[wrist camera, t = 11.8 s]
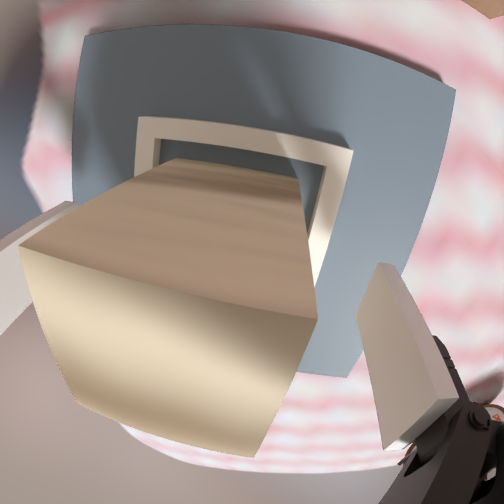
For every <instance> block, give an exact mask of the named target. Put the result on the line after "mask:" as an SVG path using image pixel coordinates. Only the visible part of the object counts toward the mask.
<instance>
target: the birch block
mask: <svg viewBox="0 0 504 504" xmlns="http://www.w3.org/2000/svg"><path fill="white" fill-rule="evenodd" d="M18 248H19V252H20V257H21V261H22V265H23V269H24V273H25V277H26V280H27V284H28V287H29V291H30V294H31V297H32V300H33V303H34V306H35V309H36V312H37V315H38V318H39V321H40V323H41V326H42V329H43V332H44V334H45V336H46V339H47V342H48V344H49V346H50V349H51V351H52V353H53V355H54V358H55V360H56V362H57V365H58V367H59V369H60V370H61V373H62V375H63V377H64V379H65V381H66V383H67V385H68V387H69V389H70V391H71V393H72V395H73V396H74V398H75V400H76V402H77V403H78V404H79V405H81V406H83V407H85V408H87V409H89V410H91V411H94V412H96V413H98V414H100V415H103V416H105V417H107V418H110V419H112V420H115V421H117V422H120V423H122V424H125V425H127V426H130V427H133V428H135V429H138V430H141V431H144V432H147V433H150V434H153V435H156V436H159V437H162V438H166V439H169V440H173V441H176V442H180V443H183V444H187V445H191V446H195V447H199V448H203V449H208V450H212V451H217V452H222V453H227V454H233V455H238V456H244V457H251V458H254V456H255V455H256V453H257V451H258V449H259V447H260V445H261V443H262V441H263V440H264V438H265V436H266V434H267V432H268V430H269V428H270V426H271V424H272V422H273V420H274V418H275V416H276V414H277V412H278V410H279V408H280V406H281V404H282V401H283V399H284V397H285V395H286V393H287V391H288V389H289V386H290V384H291V382H292V380H293V378H294V375H295V373H296V371H297V369H298V366H299V364H300V362H301V360H302V357H303V355H304V352H305V350H306V348H307V345H308V343H309V341H310V338H311V336H312V333H313V331H314V328H315V326H316V323H317V321H318V314H317V305H316V297H315V288H314V280H313V272H312V265H311V258H310V250H309V243H308V237H307V230H306V223H305V217H304V211H303V205H302V199H301V193H300V187H299V181H298V178H294V177H290V176H285V175H280V174H275V173H270V172H264V171H259V170H254V169H248V168H242V167H236V166H230V165H224V164H218V163H211V162H204V161H197V160H190V159H182V158H174V159H172V160H170V161H168V162H165V163H163V164H161V165H159V166H157V167H154V168H152V169H150V170H148V171H146V172H144V173H142V174H140V175H137V176H135V177H133V178H131V179H129V180H127V181H125V182H123V183H121V184H119V185H117V186H116V187H114V188H112V189H110V190H108V191H106V192H104V193H102V194H100V195H99V196H97V197H95V198H93V199H91V200H90V201H88V202H86V203H84V204H83V205H81V206H79V207H77V208H76V209H74V210H72V211H71V212H69V213H67V214H66V215H64V216H62V217H61V218H59V219H57V220H56V221H54V222H53V223H51V224H49V225H48V226H46V227H45V228H43V229H42V230H40V231H39V232H37V233H35V234H34V235H32V236H31V237H30V238H28V239H27V240H25V241H24V242H22V243H21V244H19V245H18Z"/></svg>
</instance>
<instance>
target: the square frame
mask: <svg viewBox="0 0 504 504" xmlns="http://www.w3.org/2000/svg"><path fill="white" fill-rule="evenodd" d="M161 139H170V140H180V141H189V142H197V143H205V144H212V145H219V146H226V147H233V148H239V149H245V150H251V151H257V152H262V153H267V154H273V155H278V156H283V157H288V158H292V159H297V160H302V161H306V162H311V163H315V164H319V165H323V166H324V170H323V174H322V178H321V182H320V186H319V191H318V195H317V199H316V203H315V207H314V211H313V214H312V218H311V222H310V226H309V230H308V234H307V237H308V243H309V250H310V258H311V265H312V272H313V280H314V287H315V284H316V281H317V278H318V275H319V272H320V269H321V266H322V263H323V260H324V257H325V253H326V250H327V247H328V244H329V240H330V237H331V234H332V230H333V227H334V223H335V220H336V217H337V213H338V209H339V206H340V202H341V199H342V195H343V191H344V187H345V184H346V180H347V176H348V172H349V168H350V164H351V160H352V156H353V152H354V151H353V150H351V149H349V148H346V147H342V146H338V145H334V144H330V143H326V142H322V141H318V140H314V139H310V138H305V137H301V136H296V135H291V134H286V133H281V132H276V131H271V130H265V129H260V128H254V127H248V126H241V125H234V124H227V123H220V122H212V121H203V120H193V119H182V118H170V117H154V116H141V117H138V126H137V137H136V151H135V168H134V177H135V176H137V175H140V174H142V173H144V172H146V171H148V170H150V169H152V168H154V167H157V166H159V157H160V146H161Z"/></svg>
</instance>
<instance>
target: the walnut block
mask: <svg viewBox="0 0 504 504" xmlns="http://www.w3.org/2000/svg"><path fill="white" fill-rule="evenodd" d="M462 1H463V2H465V3H466V4H468V5H470V6H471V7H473V8H474V9H476V10H477V11H479V12H480V13H482V14H483V15H485V16H486V17H488V18H489V19H492V18H496V17H499V16H503V15H504V0H462Z"/></svg>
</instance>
